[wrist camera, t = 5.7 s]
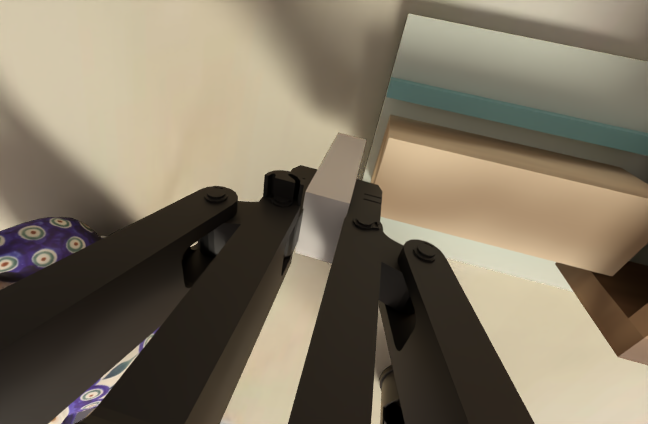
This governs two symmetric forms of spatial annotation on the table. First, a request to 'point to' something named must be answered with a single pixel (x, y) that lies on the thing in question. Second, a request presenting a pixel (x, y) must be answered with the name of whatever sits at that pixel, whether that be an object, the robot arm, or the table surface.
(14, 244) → the teapot
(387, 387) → the french press
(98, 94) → the table surface
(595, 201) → the light wood bar
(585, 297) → the block
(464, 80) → the railed board with endplate
